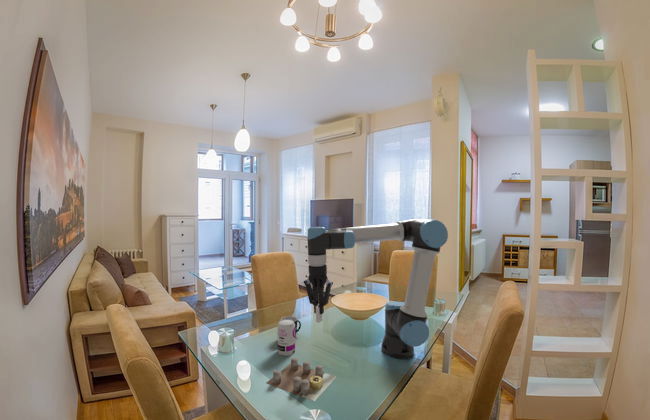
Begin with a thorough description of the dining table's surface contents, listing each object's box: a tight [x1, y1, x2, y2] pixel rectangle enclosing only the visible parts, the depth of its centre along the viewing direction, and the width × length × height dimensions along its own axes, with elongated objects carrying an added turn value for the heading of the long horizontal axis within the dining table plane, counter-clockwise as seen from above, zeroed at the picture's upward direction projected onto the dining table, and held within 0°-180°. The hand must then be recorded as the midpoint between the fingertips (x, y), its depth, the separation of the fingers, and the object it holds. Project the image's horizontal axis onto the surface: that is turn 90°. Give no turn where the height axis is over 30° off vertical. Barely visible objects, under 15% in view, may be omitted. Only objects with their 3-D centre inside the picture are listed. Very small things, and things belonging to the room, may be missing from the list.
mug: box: [279, 315, 302, 338], centre depth 154 cm, size 12×9×10 cm
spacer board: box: [266, 357, 337, 402], centre depth 115 cm, size 22×17×5 cm
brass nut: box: [309, 376, 323, 390], centre depth 111 cm, size 4×5×3 cm
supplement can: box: [277, 319, 296, 357], centre depth 137 cm, size 8×8×15 cm
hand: (319, 321), depth 121 cm, fingers closed
